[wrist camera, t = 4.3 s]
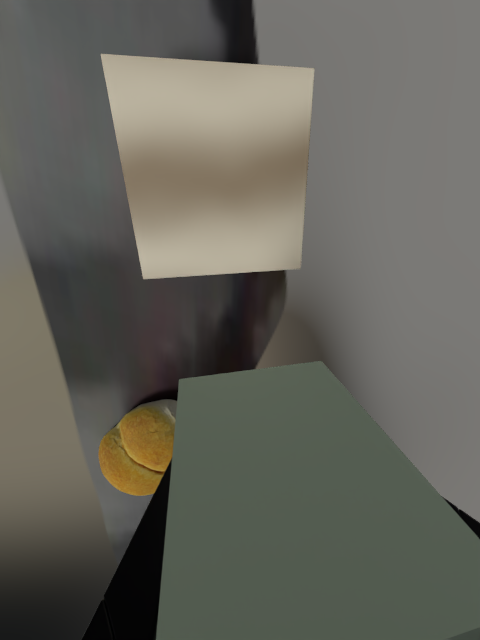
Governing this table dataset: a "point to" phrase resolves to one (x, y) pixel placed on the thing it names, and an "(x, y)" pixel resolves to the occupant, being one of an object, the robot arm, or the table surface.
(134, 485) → the bread roll
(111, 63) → the birch base
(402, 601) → the green block
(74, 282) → the table surface
